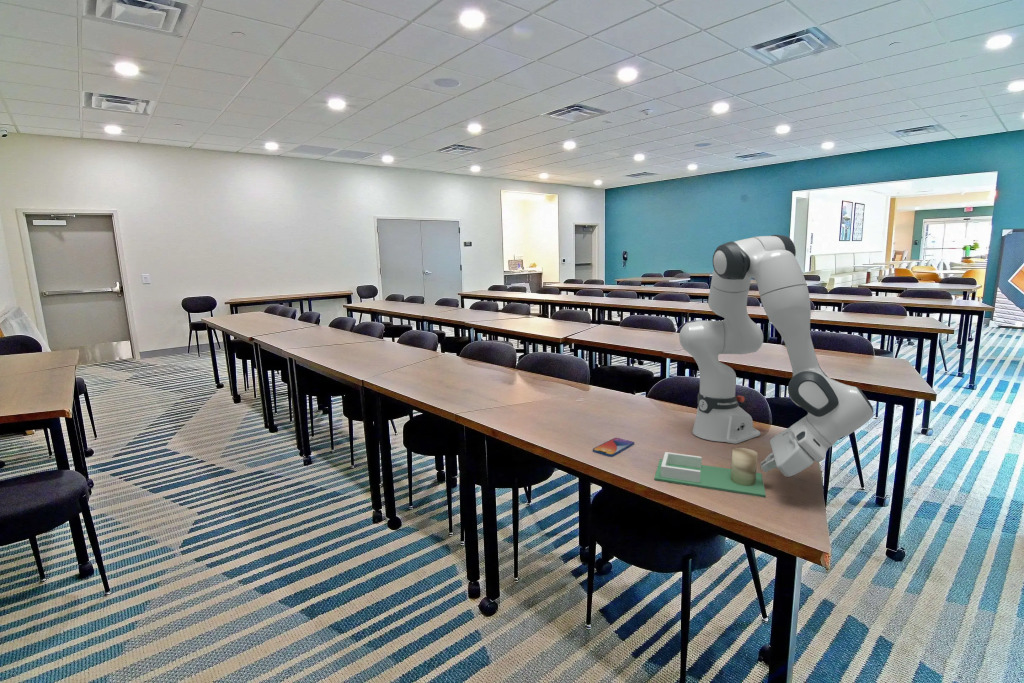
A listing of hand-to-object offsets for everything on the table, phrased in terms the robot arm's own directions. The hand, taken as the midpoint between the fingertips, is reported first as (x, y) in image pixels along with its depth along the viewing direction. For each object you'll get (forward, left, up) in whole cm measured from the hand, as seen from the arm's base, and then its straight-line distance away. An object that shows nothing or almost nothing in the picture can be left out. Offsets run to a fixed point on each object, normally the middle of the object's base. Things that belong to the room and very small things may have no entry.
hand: (762, 468), depth 130 cm
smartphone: (+20, -38, -5) cm, 43 cm away
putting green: (+9, -9, -5) cm, 14 cm away
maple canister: (+3, -3, -4) cm, 6 cm away
